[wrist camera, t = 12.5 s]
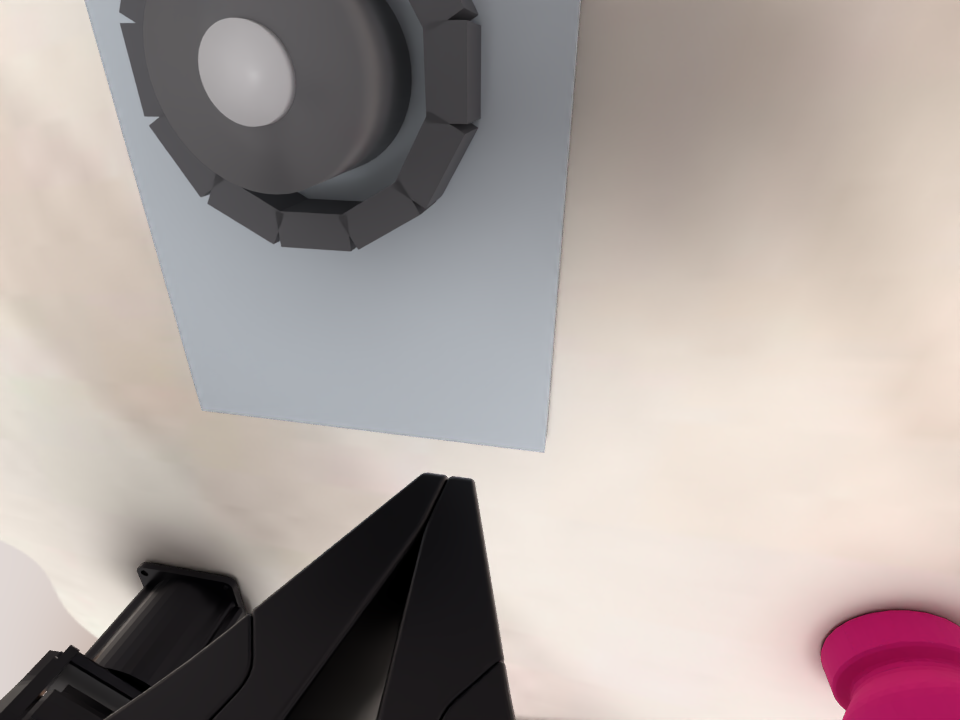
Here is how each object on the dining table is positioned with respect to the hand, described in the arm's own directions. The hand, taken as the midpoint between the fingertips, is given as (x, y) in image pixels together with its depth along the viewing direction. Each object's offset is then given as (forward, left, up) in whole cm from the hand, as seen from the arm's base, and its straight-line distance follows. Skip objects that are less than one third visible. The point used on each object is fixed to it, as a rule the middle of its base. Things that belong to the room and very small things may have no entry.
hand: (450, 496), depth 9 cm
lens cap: (-7, +6, -12) cm, 15 cm away
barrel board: (-7, +2, -13) cm, 15 cm away
